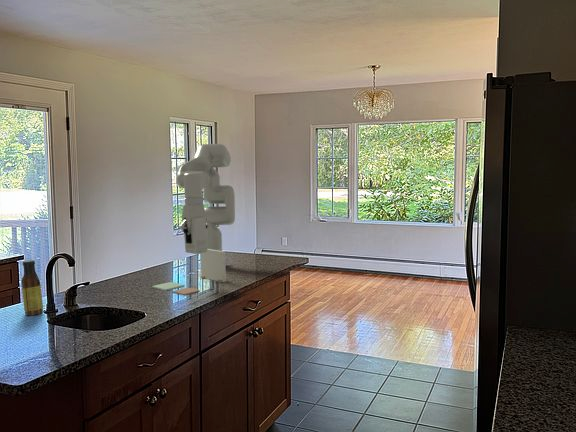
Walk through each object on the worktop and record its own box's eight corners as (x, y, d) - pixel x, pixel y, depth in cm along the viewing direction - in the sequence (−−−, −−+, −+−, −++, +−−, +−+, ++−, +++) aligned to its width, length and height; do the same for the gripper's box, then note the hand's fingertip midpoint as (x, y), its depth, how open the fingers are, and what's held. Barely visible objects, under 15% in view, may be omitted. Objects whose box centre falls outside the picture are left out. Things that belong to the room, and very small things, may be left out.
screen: (205, 276, 253) (204, 247, 251) (228, 281, 242) (227, 251, 241) (199, 278, 250) (197, 248, 248) (221, 282, 239) (220, 252, 238)
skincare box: (207, 252, 231) (206, 216, 229) (195, 254, 227) (194, 218, 225) (196, 250, 237) (194, 215, 235) (184, 252, 232) (182, 217, 230)
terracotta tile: (187, 288, 229) (187, 287, 229) (199, 291, 224) (199, 290, 224) (172, 292, 223) (172, 291, 223) (183, 295, 218) (183, 294, 218)
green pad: (171, 283, 241) (170, 281, 241) (184, 286, 234) (184, 285, 234) (152, 287, 233) (152, 286, 233) (165, 290, 227) (165, 289, 226)
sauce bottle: (47, 311, 198) (43, 259, 196) (35, 316, 192) (31, 262, 190) (31, 310, 199) (28, 259, 197) (20, 315, 193) (15, 262, 191)
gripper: (203, 199, 238) (205, 238, 240) (171, 202, 225) (173, 244, 227) (214, 199, 233) (216, 240, 235) (182, 203, 220) (184, 246, 222)
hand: (195, 241), depth 231 cm, fingers closed on skincare box, 6 cm apart
